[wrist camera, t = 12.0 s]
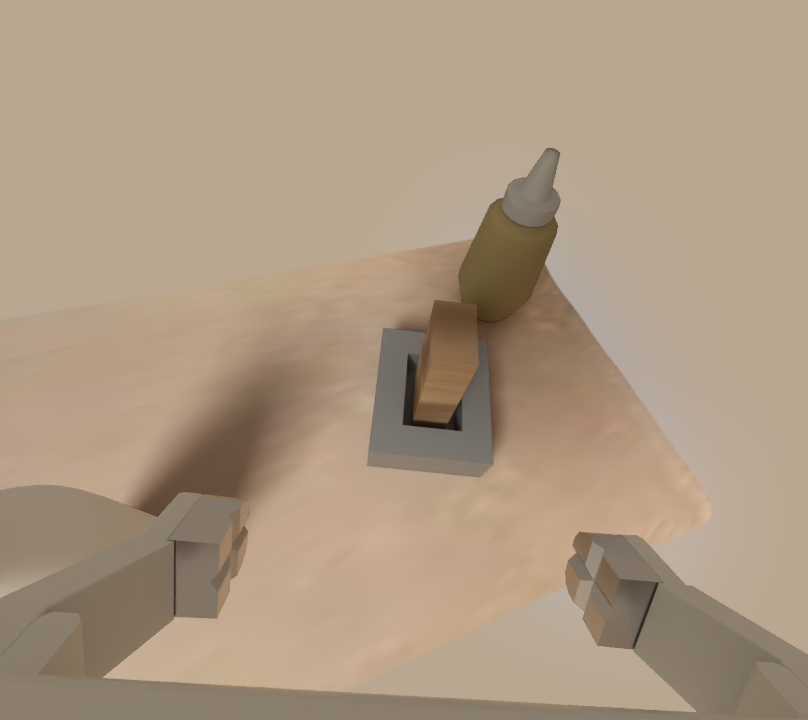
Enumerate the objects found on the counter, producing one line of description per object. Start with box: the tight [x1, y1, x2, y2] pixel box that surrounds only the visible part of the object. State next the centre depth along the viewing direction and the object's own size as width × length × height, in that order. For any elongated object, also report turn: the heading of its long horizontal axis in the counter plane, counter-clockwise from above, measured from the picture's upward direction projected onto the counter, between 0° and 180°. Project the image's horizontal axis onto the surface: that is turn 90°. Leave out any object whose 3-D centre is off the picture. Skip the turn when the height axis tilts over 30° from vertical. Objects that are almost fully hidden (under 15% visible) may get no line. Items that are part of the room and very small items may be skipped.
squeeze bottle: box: [458, 148, 560, 321], centre depth 38 cm, size 8×8×18 cm
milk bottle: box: [0, 485, 157, 598], centre depth 20 cm, size 8×8×20 cm
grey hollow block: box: [367, 328, 493, 477], centre depth 36 cm, size 12×10×4 cm
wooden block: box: [410, 300, 479, 429], centre depth 32 cm, size 5×3×12 cm, turn 176°
